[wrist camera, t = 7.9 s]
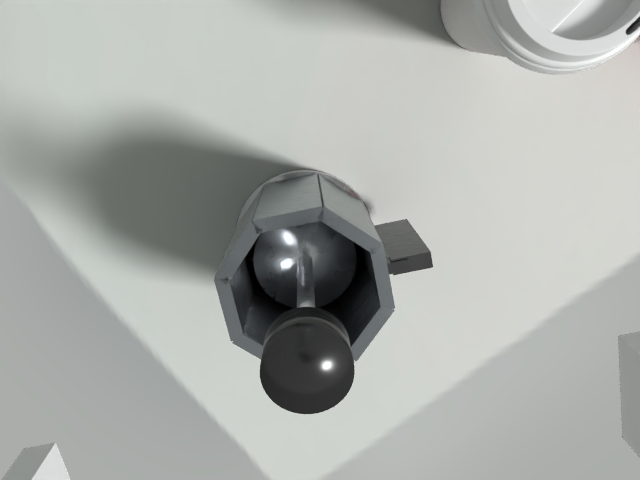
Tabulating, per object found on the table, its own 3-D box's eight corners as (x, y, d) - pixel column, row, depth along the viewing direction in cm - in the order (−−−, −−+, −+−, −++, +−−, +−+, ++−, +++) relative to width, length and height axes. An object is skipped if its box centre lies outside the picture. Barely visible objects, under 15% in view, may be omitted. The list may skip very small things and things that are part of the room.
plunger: (243, 219, 38) (205, 314, 23) (345, 198, 38) (373, 280, 23) (267, 313, 40) (246, 457, 25) (363, 293, 40) (401, 426, 25)
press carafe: (221, 185, 43) (191, 225, 31) (390, 150, 43) (423, 177, 31) (254, 312, 46) (238, 391, 34) (412, 280, 45) (450, 349, 34)
